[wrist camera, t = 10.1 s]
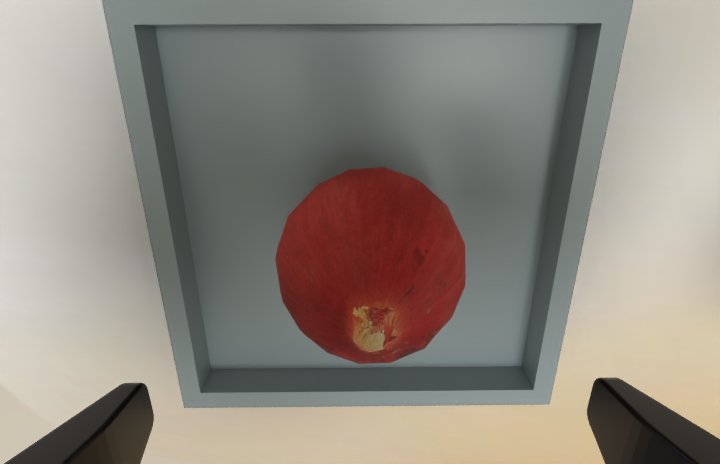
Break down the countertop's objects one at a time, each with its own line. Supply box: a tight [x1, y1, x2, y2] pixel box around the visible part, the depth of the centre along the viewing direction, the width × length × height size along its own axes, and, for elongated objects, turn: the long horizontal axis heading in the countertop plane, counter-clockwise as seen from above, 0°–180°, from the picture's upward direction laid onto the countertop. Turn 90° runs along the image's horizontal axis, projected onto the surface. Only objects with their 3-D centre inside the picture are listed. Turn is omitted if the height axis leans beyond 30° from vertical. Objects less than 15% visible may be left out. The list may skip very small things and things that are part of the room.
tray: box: [102, 0, 633, 408], centre depth 17 cm, size 16×16×2 cm
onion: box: [275, 167, 466, 364], centre depth 14 cm, size 6×6×8 cm
